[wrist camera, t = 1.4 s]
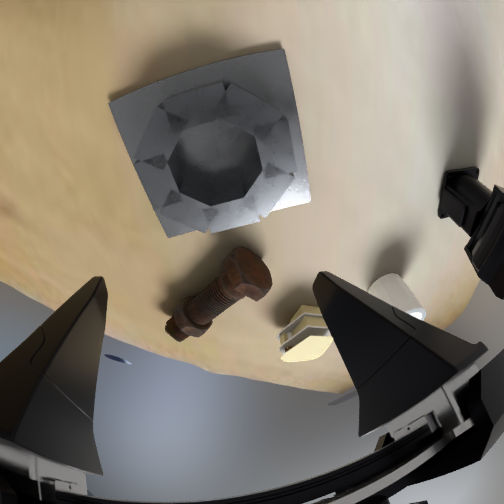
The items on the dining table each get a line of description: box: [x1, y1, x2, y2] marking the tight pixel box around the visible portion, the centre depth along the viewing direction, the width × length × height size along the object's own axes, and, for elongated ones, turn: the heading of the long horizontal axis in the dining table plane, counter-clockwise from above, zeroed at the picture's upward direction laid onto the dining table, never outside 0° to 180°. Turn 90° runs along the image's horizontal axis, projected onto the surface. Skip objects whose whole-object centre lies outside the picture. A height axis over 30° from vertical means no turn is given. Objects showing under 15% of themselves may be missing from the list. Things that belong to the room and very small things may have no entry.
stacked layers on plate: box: [276, 305, 333, 362], centre depth 36 cm, size 10×9×6 cm
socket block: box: [108, 49, 311, 238], centre depth 20 cm, size 14×14×4 cm
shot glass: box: [368, 273, 426, 321], centre depth 33 cm, size 7×7×7 cm
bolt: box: [165, 247, 272, 342], centre depth 30 cm, size 6×5×15 cm
